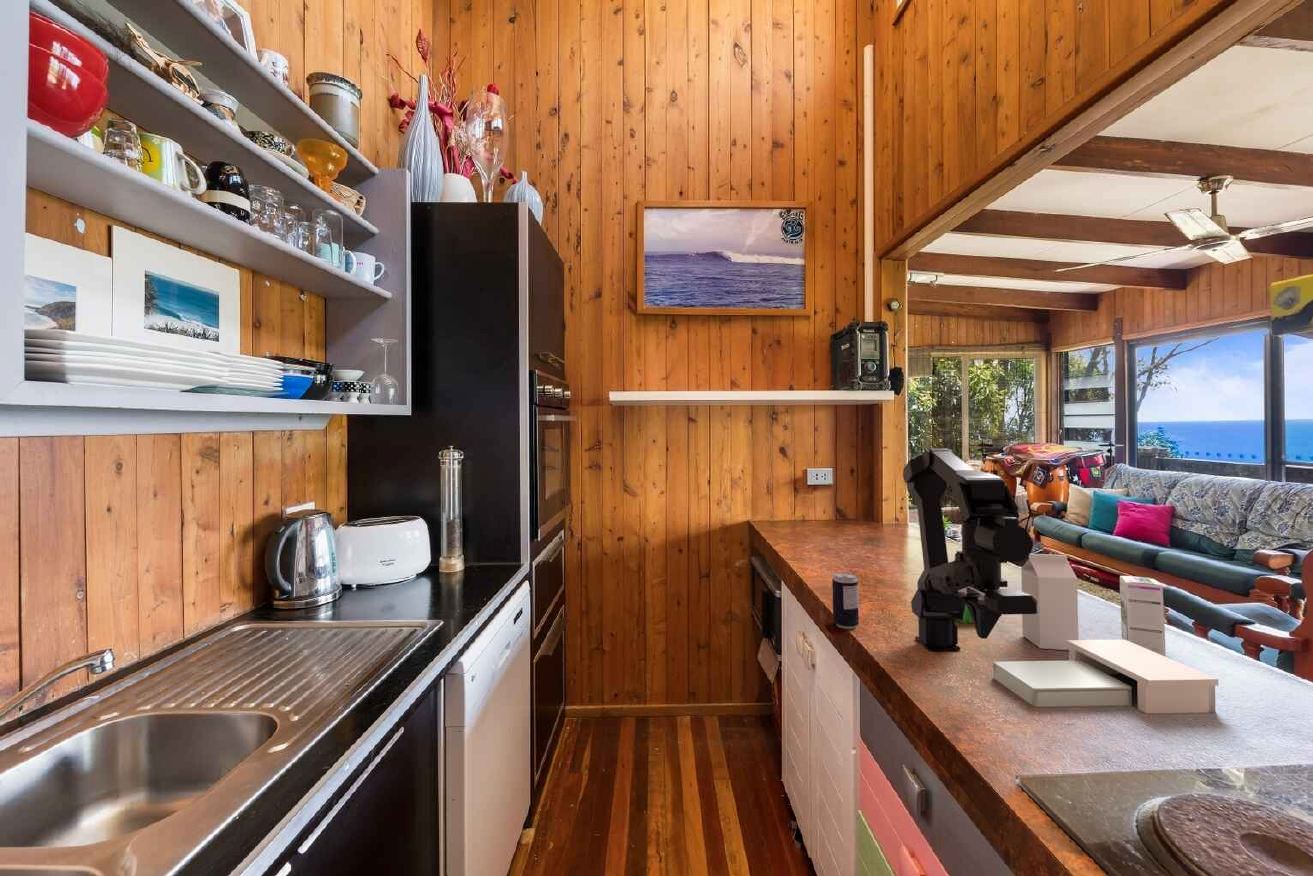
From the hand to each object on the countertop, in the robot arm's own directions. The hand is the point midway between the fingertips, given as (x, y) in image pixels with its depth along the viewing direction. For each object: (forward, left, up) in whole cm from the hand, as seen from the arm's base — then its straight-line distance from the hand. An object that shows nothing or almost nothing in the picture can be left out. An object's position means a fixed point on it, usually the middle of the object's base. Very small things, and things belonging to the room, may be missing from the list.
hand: (982, 637), depth 88 cm
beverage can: (-12, +32, -10) cm, 35 cm away
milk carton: (+27, +20, -10) cm, 35 cm away
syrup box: (+43, +16, -10) cm, 47 cm away
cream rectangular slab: (+13, 0, -9) cm, 16 cm away
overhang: (+26, 0, -9) cm, 28 cm away
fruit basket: (+18, +37, -10) cm, 42 cm away
